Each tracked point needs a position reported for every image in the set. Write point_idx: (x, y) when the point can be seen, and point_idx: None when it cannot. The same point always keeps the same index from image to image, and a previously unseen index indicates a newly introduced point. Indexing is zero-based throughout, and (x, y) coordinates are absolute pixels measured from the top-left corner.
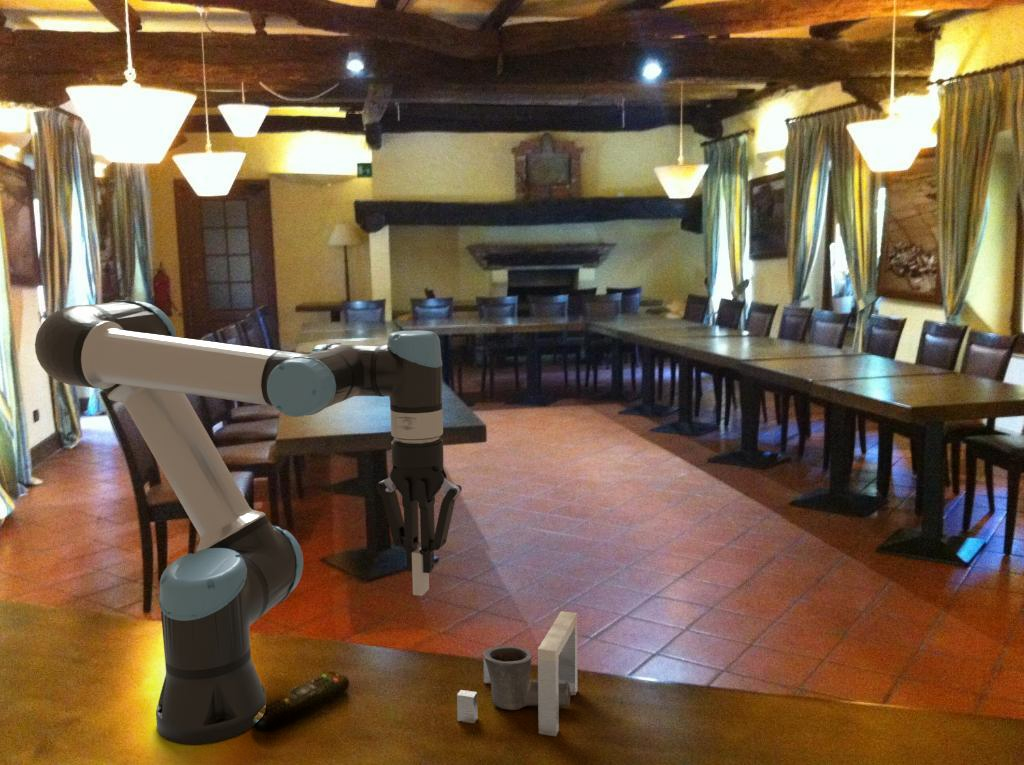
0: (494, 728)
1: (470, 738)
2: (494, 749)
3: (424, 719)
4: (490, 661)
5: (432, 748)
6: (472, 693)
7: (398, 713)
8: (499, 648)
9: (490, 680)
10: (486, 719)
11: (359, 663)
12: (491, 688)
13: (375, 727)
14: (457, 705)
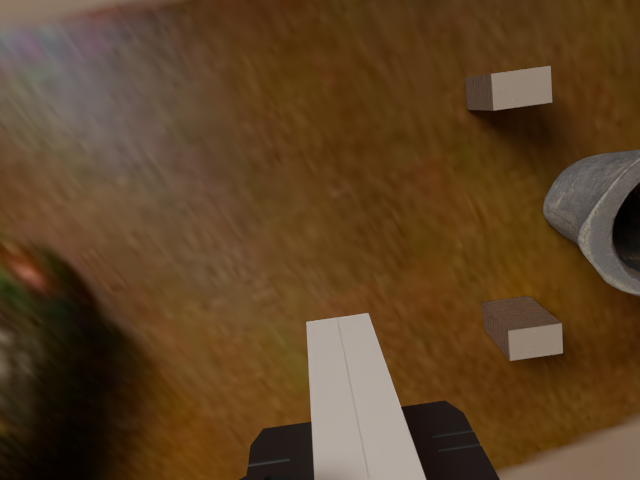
0: (588, 319)
1: (547, 382)
2: (620, 399)
3: (396, 355)
4: (631, 293)
5: None
6: (550, 334)
7: None
8: (631, 189)
9: (570, 234)
10: (552, 290)
11: (23, 157)
12: (559, 225)
13: None
14: (499, 346)
